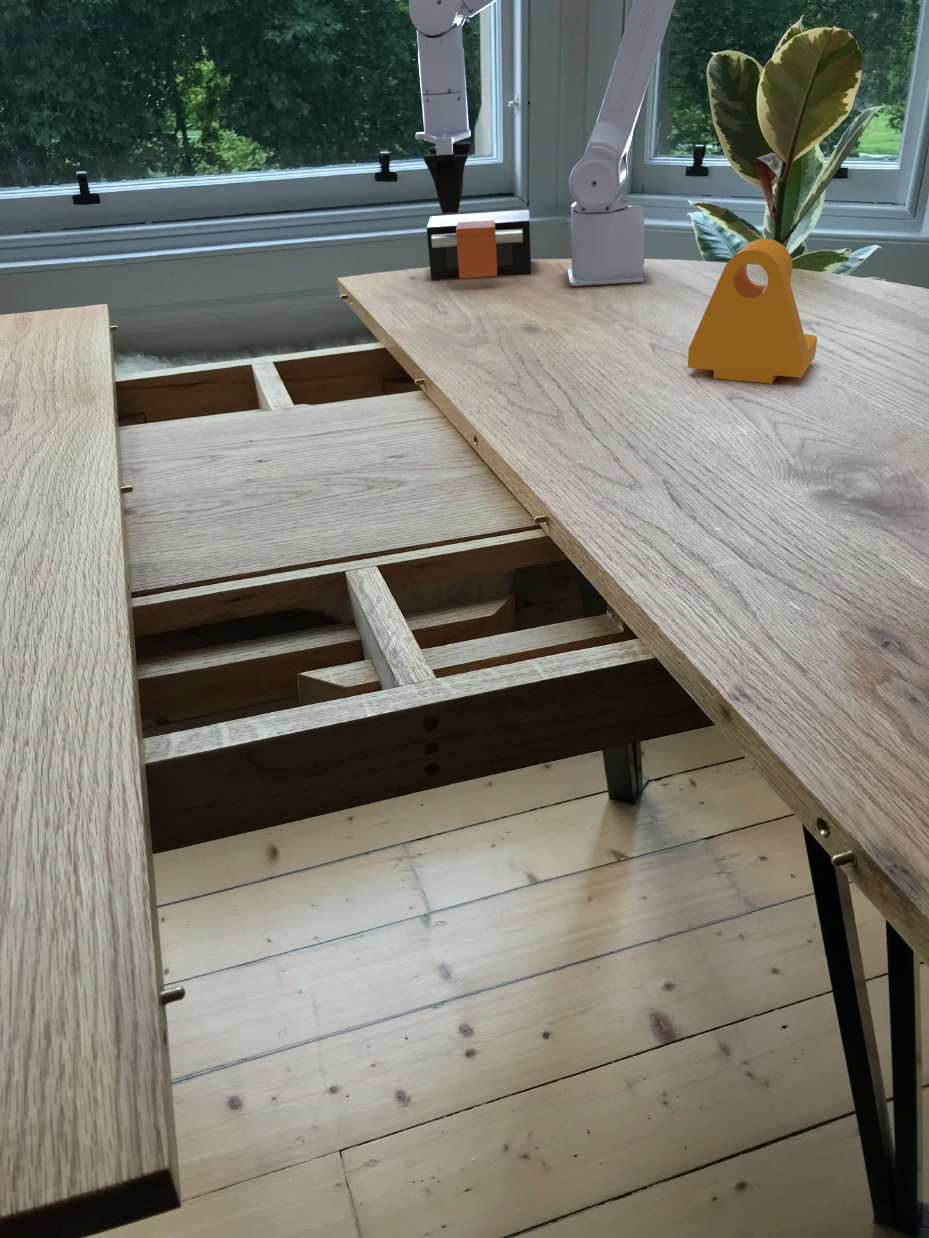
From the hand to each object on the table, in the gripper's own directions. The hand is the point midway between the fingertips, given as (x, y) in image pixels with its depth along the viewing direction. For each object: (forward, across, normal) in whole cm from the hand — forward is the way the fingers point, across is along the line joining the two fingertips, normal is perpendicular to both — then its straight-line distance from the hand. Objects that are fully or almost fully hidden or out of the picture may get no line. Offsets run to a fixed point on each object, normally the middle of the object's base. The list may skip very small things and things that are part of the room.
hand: (451, 207), depth 130 cm
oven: (+10, -2, +3) cm, 10 cm away
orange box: (+8, +4, +3) cm, 9 cm away
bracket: (+10, +44, +31) cm, 55 cm away
